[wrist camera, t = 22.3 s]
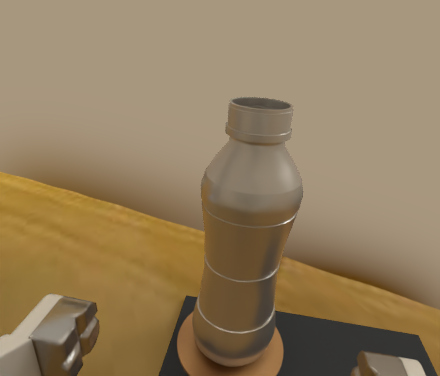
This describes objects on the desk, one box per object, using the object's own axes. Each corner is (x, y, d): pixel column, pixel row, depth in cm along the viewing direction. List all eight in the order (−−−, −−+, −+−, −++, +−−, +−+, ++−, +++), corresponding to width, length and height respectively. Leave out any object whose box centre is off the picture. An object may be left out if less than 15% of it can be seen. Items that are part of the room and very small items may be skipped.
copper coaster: (162, 383, 24) (162, 381, 24) (191, 296, 32) (191, 293, 32) (284, 408, 23) (285, 406, 23) (282, 311, 31) (282, 309, 31)
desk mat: (146, 414, 22) (146, 410, 22) (186, 299, 32) (186, 295, 32) (486, 487, 20) (489, 483, 20) (416, 338, 30) (418, 335, 30)
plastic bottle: (185, 318, 29) (192, 91, 20) (255, 307, 31) (289, 93, 22) (199, 388, 23) (217, 116, 15) (283, 369, 25) (345, 117, 16)
